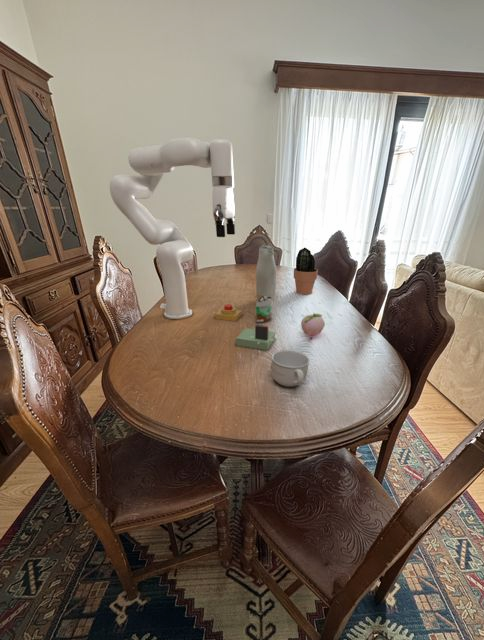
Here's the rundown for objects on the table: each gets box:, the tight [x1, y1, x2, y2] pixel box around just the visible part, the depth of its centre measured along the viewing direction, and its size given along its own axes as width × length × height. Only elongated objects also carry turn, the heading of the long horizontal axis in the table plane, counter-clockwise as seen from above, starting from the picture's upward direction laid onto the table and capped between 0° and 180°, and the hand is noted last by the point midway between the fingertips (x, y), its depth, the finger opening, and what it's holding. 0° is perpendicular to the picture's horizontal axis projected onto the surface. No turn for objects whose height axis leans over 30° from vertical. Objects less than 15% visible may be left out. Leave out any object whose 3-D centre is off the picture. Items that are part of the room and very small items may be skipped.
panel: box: [235, 327, 276, 351], centre depth 106 cm, size 13×12×3 cm
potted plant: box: [293, 247, 319, 295], centre depth 162 cm, size 14×14×25 cm
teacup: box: [270, 349, 310, 388], centre depth 82 cm, size 14×11×8 cm
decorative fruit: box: [300, 313, 326, 337], centre depth 111 cm, size 9×8×10 cm
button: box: [223, 303, 233, 310], centre depth 129 cm, size 4×4×2 cm
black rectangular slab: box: [254, 324, 269, 340], centre depth 102 cm, size 4×1×5 cm, turn 73°
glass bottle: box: [255, 244, 277, 300], centre depth 146 cm, size 10×10×28 cm
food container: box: [255, 294, 274, 324], centre depth 126 cm, size 12×6×10 cm, turn 168°
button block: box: [214, 305, 243, 322], centre depth 130 cm, size 10×8×4 cm
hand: (226, 235), depth 108 cm, fingers open, 9 cm apart
